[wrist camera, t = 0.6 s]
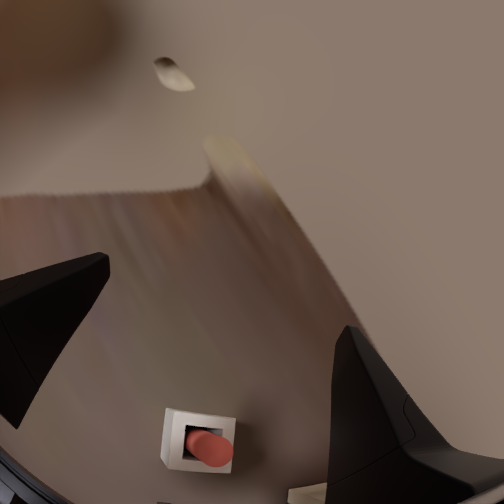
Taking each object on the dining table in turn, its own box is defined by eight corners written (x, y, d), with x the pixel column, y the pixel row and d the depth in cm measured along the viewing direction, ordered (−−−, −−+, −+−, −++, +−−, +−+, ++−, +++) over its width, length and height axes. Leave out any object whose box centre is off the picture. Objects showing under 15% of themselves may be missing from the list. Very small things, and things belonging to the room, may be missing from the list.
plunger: (209, 454, 18) (232, 467, 14) (181, 451, 17) (197, 466, 13) (211, 429, 19) (235, 437, 15) (183, 426, 18) (200, 434, 15)
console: (214, 462, 19) (230, 473, 16) (160, 457, 18) (168, 468, 15) (219, 415, 22) (235, 418, 19) (165, 407, 20) (174, 410, 17)
